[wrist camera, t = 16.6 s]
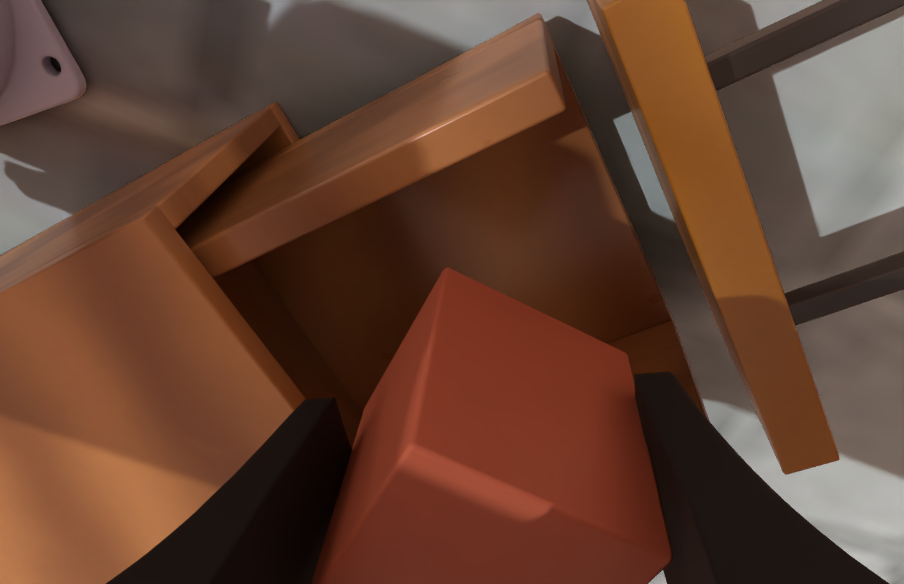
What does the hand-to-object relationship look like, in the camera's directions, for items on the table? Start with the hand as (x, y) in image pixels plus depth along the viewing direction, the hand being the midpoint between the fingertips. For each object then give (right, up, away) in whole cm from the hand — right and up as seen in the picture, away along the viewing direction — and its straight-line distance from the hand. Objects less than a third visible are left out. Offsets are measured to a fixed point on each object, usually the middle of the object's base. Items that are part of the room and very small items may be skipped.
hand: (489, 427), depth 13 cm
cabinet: (-9, +1, +11) cm, 14 cm away
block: (0, +1, +1) cm, 1 cm away
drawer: (+2, +5, +7) cm, 9 cm away
